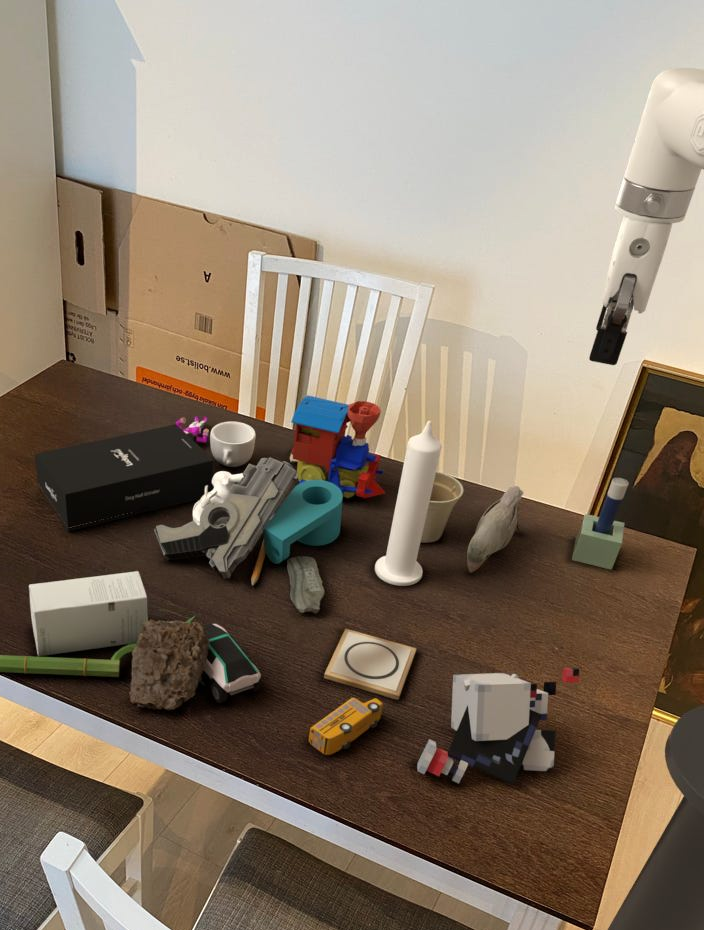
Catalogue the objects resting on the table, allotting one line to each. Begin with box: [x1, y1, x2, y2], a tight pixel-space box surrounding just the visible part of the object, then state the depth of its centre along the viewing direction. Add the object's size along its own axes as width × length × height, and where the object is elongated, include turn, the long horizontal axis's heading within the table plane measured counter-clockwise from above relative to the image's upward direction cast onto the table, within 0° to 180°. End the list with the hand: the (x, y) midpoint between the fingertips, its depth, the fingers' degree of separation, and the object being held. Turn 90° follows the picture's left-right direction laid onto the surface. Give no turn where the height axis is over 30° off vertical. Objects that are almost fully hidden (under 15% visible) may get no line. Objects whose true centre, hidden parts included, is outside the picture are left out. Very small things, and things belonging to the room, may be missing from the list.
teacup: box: [209, 421, 257, 468], centre depth 160 cm, size 10×8×5 cm
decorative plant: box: [0, 614, 206, 686], centre depth 121 cm, size 6×8×30 cm
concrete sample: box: [128, 618, 209, 711], centre depth 117 cm, size 12×10×5 cm
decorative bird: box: [466, 485, 524, 574], centre depth 144 cm, size 5×16×8 cm, turn 147°
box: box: [34, 423, 214, 532], centre depth 151 cm, size 25×14×7 cm, turn 118°
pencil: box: [250, 513, 275, 587], centre depth 143 cm, size 1×1×19 cm
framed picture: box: [323, 628, 417, 701], centre depth 124 cm, size 10×10×1 cm
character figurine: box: [175, 415, 210, 444], centre depth 166 cm, size 6×5×12 cm
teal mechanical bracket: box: [263, 480, 344, 565], centre depth 143 cm, size 7×15×8 cm
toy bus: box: [308, 697, 384, 756], centre depth 114 cm, size 3×10×4 cm
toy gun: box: [153, 457, 299, 580], centre depth 140 cm, size 4×21×15 cm
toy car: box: [201, 623, 262, 704], centre depth 120 cm, size 6×12×5 cm, turn 29°
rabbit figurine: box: [192, 470, 244, 525], centre depth 144 cm, size 12×8×10 cm, turn 149°
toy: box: [416, 667, 580, 786], centre depth 112 cm, size 12×17×15 cm
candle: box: [374, 420, 442, 587], centre depth 132 cm, size 7×7×25 cm
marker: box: [594, 477, 629, 535], centre depth 142 cm, size 2×2×13 cm
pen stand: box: [571, 513, 626, 571], centre depth 145 cm, size 6×6×5 cm
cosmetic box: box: [28, 570, 149, 657], centre depth 124 cm, size 8×6×15 cm
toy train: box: [290, 394, 386, 499], centre depth 153 cm, size 10×16×15 cm, turn 68°
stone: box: [286, 555, 325, 614], centre depth 136 cm, size 12×2×5 cm
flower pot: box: [420, 470, 464, 544], centre depth 146 cm, size 9×9×9 cm
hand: (605, 346), depth 115 cm, fingers open, 9 cm apart
